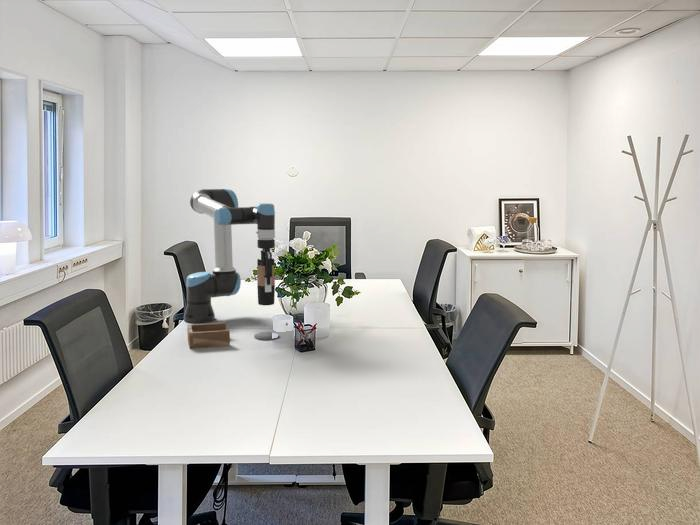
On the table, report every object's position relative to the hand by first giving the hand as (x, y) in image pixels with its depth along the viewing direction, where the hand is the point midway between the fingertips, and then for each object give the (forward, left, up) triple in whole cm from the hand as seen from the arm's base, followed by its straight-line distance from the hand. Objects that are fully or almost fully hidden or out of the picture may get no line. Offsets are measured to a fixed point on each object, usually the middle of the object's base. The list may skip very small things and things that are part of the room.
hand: (266, 290), depth 262 cm
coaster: (0, 0, -21) cm, 21 cm away
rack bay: (+2, -26, -21) cm, 33 cm away
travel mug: (0, 0, -6) cm, 6 cm away
